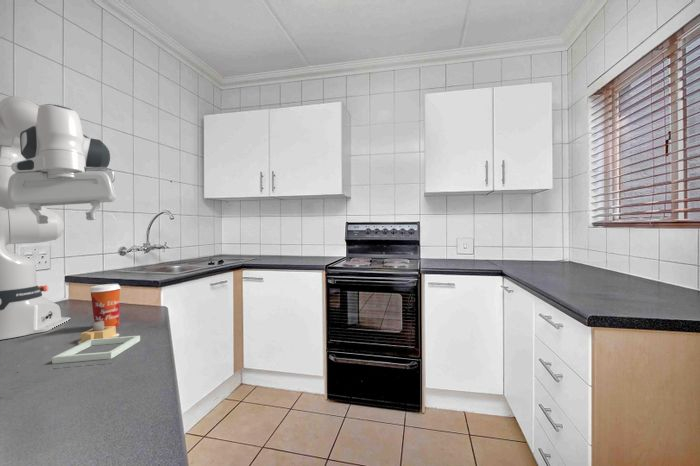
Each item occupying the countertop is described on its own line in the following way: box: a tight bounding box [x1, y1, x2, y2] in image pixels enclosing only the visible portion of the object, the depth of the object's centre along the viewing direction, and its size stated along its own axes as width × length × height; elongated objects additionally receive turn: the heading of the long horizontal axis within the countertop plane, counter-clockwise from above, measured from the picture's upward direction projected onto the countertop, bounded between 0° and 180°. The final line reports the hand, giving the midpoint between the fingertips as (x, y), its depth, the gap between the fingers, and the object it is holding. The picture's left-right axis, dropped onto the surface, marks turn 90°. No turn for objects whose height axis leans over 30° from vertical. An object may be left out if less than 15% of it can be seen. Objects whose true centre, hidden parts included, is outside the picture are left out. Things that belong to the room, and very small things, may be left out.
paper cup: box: [89, 283, 122, 328], centre depth 98 cm, size 8×8×14 cm
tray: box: [51, 335, 141, 370], centre depth 76 cm, size 12×12×2 cm
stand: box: [77, 321, 120, 345], centre depth 87 cm, size 9×9×6 cm
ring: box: [80, 326, 117, 343], centre depth 86 cm, size 7×5×2 cm
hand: (67, 221), depth 78 cm, fingers open, 8 cm apart
